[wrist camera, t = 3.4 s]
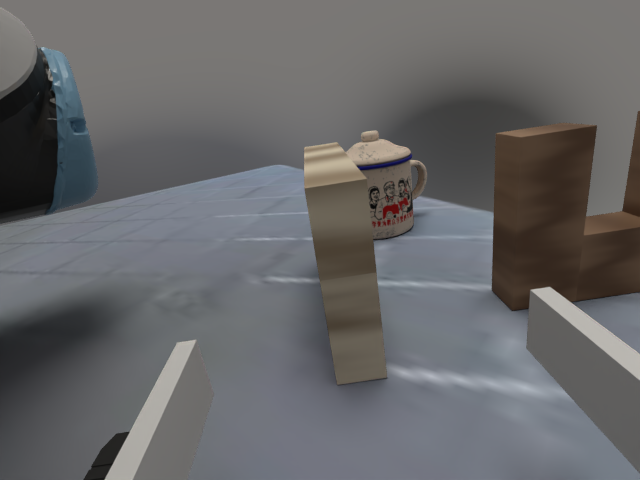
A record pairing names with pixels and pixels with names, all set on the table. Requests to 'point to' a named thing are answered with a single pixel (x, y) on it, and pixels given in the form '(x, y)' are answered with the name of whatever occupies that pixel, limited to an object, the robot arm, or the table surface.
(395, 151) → the teacup with lid
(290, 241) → the table surface
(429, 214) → the table surface
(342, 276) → the birch board
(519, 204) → the brown wooden u block
